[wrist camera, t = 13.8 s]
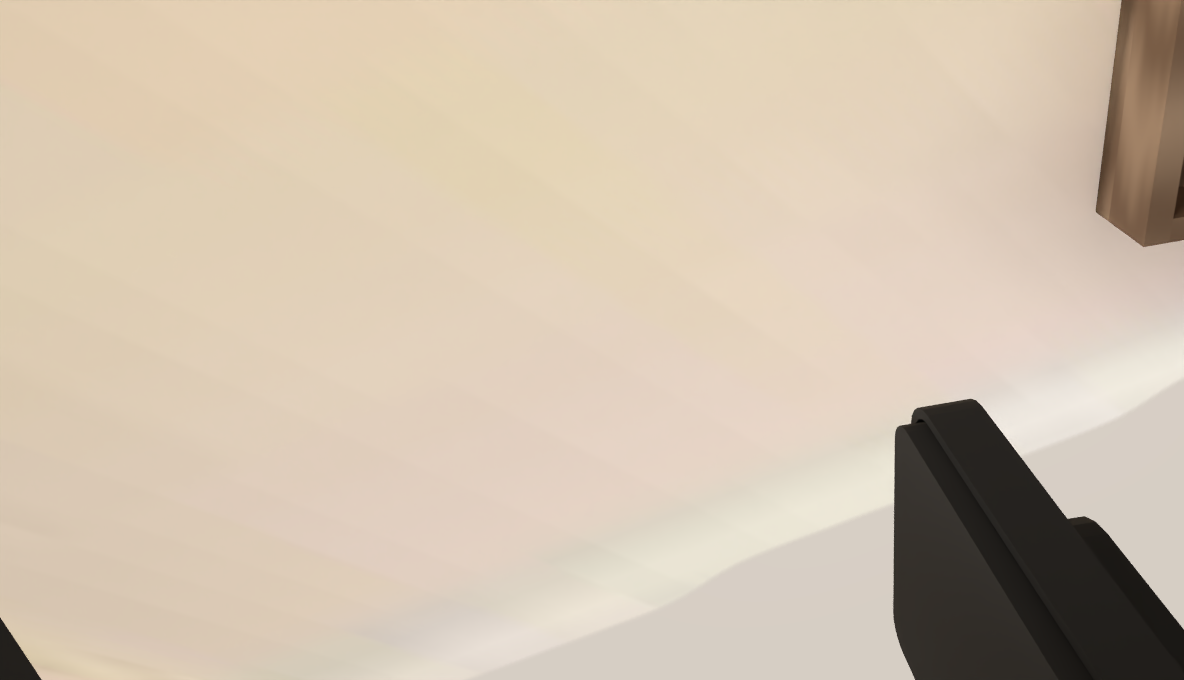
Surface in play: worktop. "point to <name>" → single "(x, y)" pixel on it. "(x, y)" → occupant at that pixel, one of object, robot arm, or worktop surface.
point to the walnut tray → (1146, 125)
